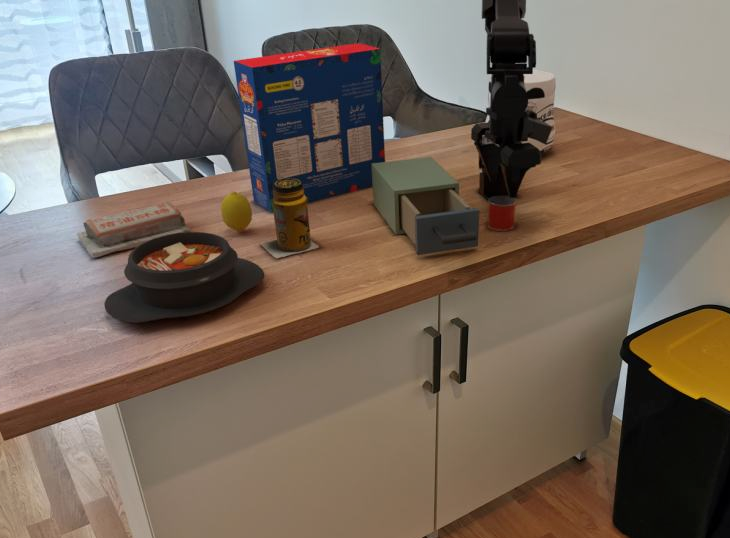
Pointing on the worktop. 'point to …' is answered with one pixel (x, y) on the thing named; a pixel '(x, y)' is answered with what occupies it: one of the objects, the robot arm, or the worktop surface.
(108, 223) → the packaged product
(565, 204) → the worktop surface
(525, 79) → the milk container
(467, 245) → the drawer
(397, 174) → the cabinet
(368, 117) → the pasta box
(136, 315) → the casserole
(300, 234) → the condiment
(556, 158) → the worktop surface
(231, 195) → the lemon
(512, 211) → the can
